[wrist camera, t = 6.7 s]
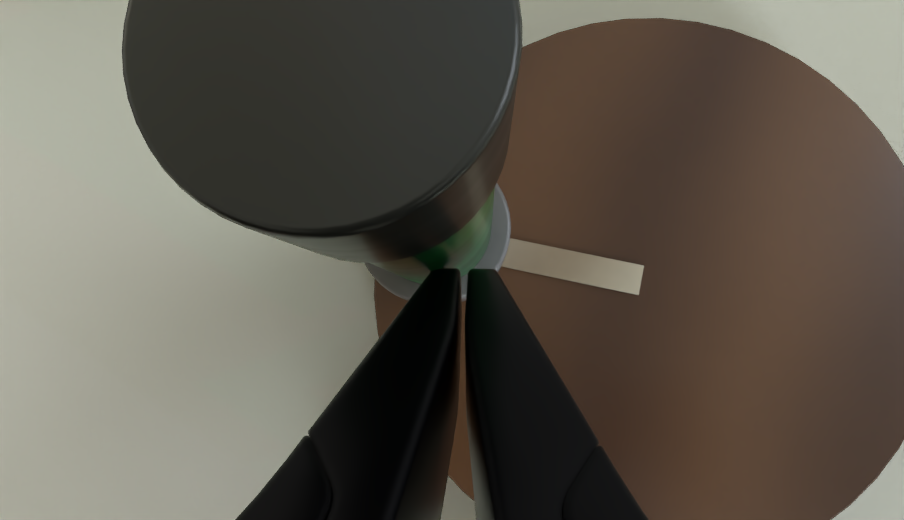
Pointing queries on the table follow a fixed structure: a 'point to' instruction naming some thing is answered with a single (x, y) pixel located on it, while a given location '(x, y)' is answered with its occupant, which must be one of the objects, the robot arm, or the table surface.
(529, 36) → the table surface
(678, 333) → the disc
